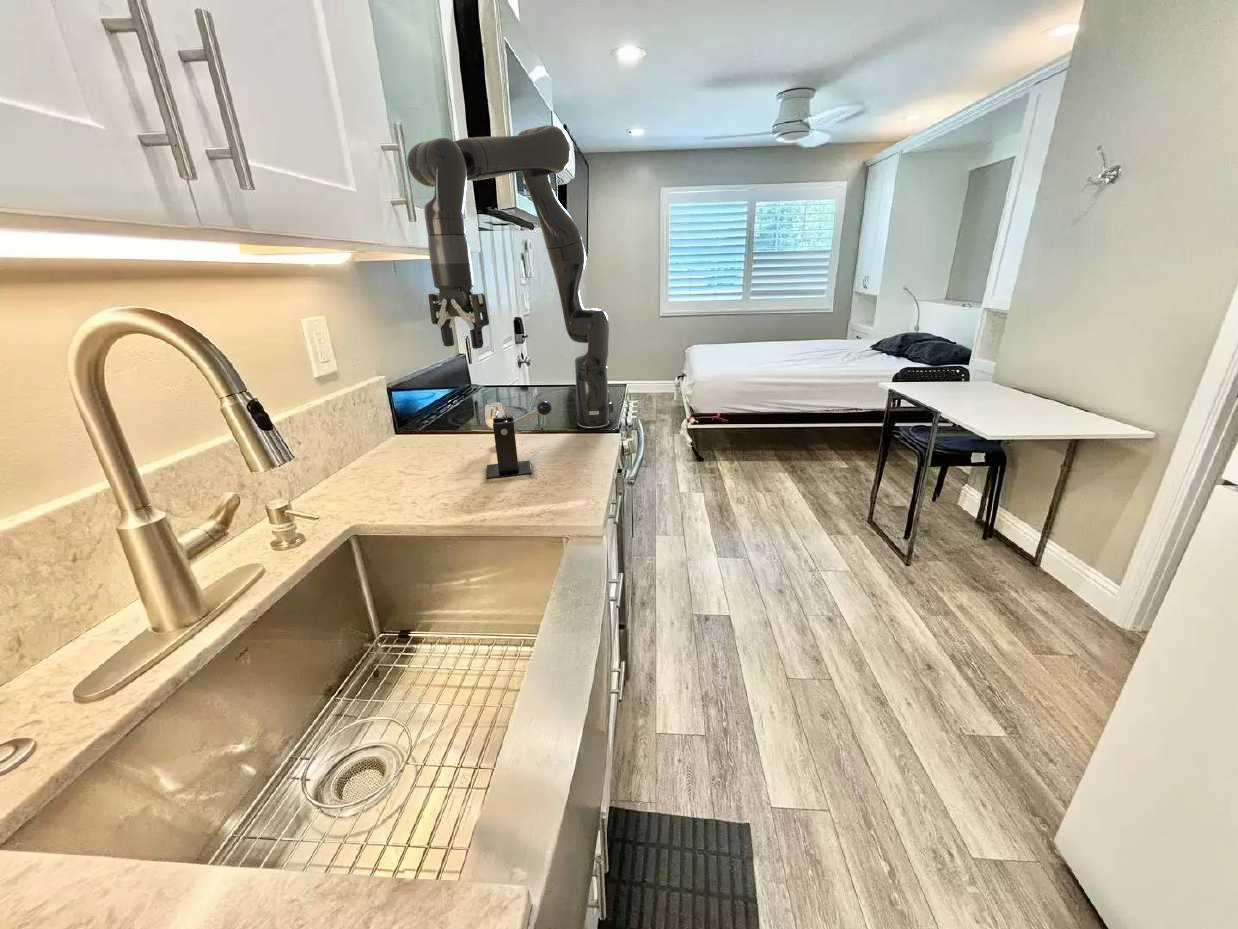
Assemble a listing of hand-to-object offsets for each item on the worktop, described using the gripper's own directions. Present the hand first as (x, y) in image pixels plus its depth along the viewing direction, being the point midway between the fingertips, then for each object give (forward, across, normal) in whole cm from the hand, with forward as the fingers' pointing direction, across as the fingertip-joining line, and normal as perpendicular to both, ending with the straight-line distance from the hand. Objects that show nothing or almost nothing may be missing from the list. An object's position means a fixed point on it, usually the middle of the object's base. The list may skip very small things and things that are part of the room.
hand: (463, 347), depth 101 cm
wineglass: (+30, +10, -16) cm, 35 cm away
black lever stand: (+29, -4, -5) cm, 30 cm away
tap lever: (+18, -8, -9) cm, 21 cm away
